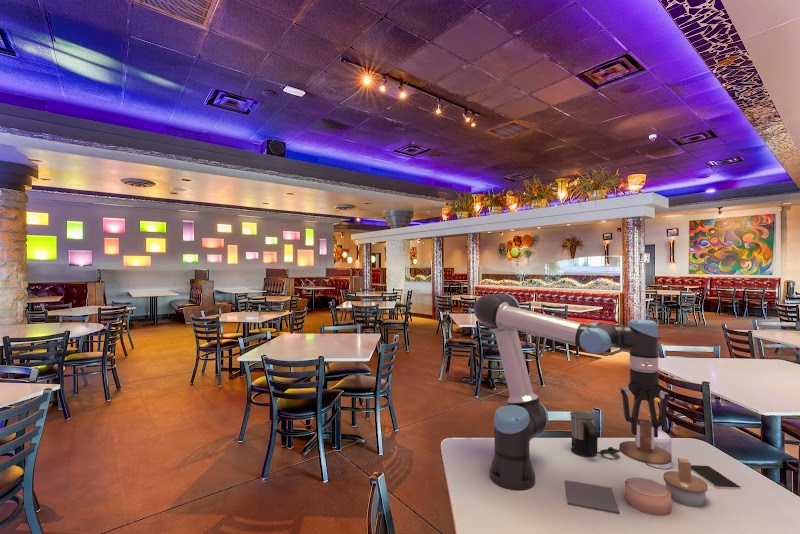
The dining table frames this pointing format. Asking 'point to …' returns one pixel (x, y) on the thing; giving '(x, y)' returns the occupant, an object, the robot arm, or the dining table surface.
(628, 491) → the terracotta bowl
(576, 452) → the milk frother
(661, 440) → the soap bottle
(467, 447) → the dining table surface
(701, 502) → the slate bowl covered
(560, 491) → the dining table surface
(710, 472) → the smartphone
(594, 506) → the rubber mat
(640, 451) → the walnut lid
